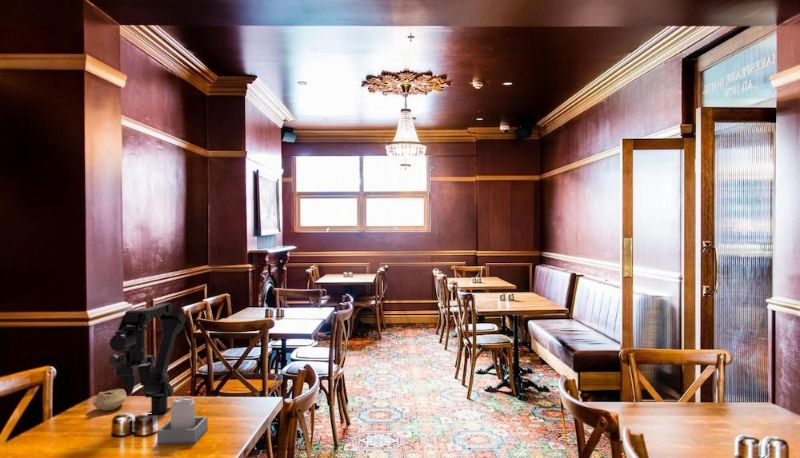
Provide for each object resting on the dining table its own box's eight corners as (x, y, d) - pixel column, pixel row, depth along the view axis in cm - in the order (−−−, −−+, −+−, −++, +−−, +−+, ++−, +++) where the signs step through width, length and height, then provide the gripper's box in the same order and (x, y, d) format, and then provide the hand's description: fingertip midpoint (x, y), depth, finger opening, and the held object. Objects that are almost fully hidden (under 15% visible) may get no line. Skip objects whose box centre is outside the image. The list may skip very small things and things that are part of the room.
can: (177, 440, 168) (177, 403, 168) (167, 435, 173) (166, 399, 173) (199, 433, 174) (199, 397, 174) (188, 428, 179) (188, 393, 179)
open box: (172, 430, 179) (172, 417, 179) (207, 429, 180) (207, 416, 180) (157, 444, 167) (157, 430, 167) (195, 443, 168) (194, 429, 168)
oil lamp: (133, 401, 213) (132, 381, 213) (116, 413, 198) (116, 392, 198) (105, 402, 212) (105, 382, 212) (86, 415, 197) (86, 394, 197)
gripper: (126, 340, 194) (126, 382, 194) (98, 351, 176) (99, 397, 175) (156, 339, 195) (156, 381, 194) (132, 350, 176) (132, 397, 176)
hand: (136, 389), depth 185 cm, fingers open, 9 cm apart
